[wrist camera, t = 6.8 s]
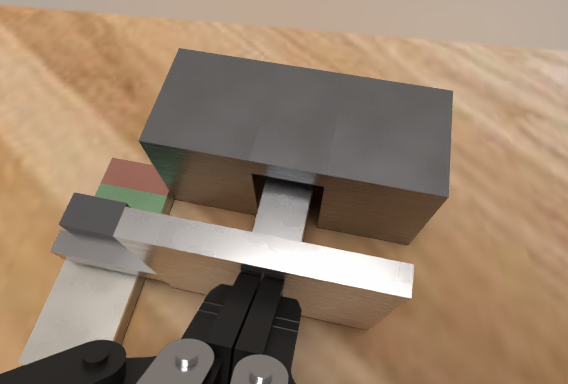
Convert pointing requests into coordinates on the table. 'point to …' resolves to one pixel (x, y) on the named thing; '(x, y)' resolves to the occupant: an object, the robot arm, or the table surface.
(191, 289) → the push plate
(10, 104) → the table surface
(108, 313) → the gauge base
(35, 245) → the table surface
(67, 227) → the block
